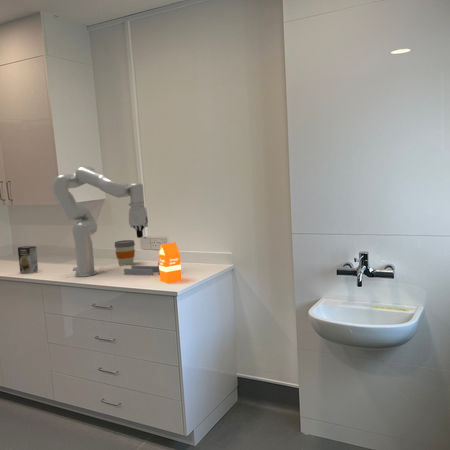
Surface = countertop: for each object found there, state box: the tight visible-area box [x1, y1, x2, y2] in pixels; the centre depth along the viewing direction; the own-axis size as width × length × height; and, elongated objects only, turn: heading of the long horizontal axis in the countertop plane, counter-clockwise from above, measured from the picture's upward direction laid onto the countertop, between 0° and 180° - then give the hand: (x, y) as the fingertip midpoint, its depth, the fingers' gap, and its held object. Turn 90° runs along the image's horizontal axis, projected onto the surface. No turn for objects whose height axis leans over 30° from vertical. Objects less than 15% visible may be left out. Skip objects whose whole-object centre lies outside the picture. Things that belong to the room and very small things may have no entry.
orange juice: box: [158, 242, 183, 284], centre depth 246 cm, size 8×9×20 cm
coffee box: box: [17, 245, 39, 274], centre depth 289 cm, size 9×6×16 cm
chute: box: [123, 265, 159, 276], centre depth 266 cm, size 18×9×4 cm, turn 70°
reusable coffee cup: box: [114, 239, 136, 267], centre depth 298 cm, size 13×13×15 cm
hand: (139, 237), depth 266 cm, fingers closed
